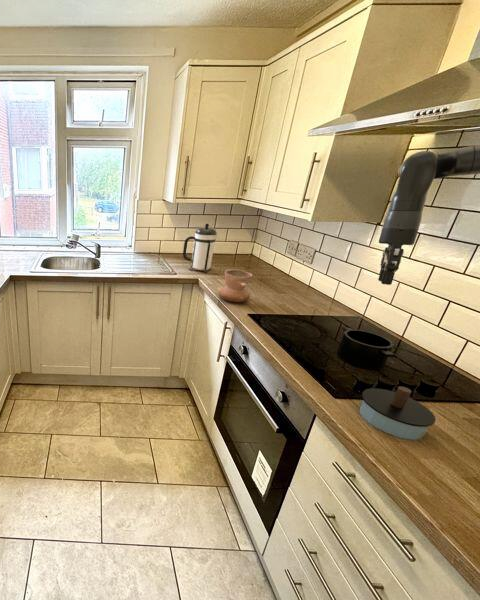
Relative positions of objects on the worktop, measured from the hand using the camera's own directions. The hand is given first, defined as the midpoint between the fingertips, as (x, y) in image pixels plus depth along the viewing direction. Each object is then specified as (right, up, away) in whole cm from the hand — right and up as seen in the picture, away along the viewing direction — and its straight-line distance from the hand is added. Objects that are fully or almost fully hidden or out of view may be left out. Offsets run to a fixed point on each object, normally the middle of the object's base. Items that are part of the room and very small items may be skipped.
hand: (384, 282), depth 95 cm
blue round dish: (-11, -37, -13) cm, 40 cm away
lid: (-11, -32, -14) cm, 37 cm away
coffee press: (-14, +15, +112) cm, 114 cm away
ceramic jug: (-14, -5, +65) cm, 67 cm away
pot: (+5, -26, +14) cm, 30 cm away
